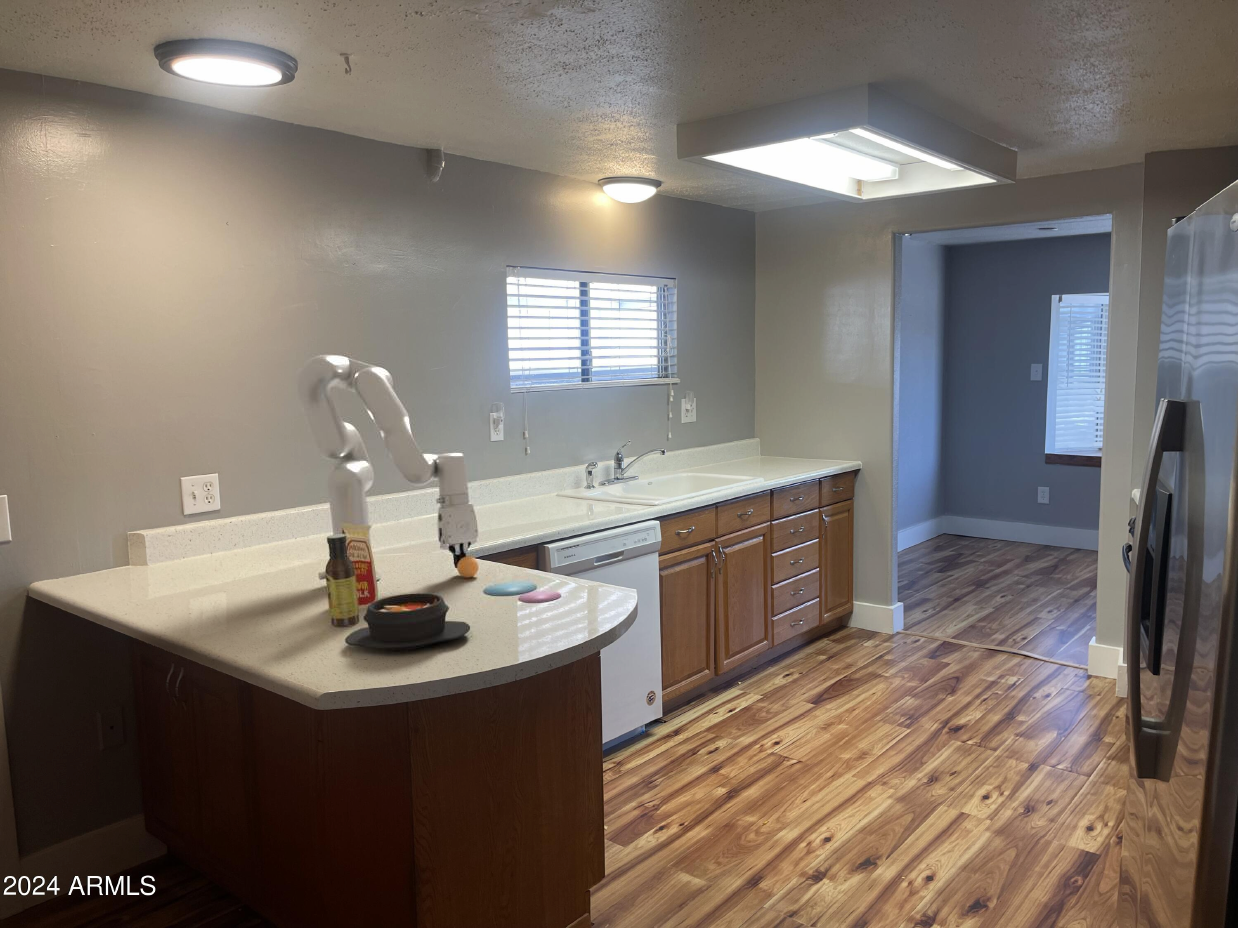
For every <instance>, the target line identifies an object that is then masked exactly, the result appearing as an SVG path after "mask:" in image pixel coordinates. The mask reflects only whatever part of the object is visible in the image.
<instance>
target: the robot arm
mask: <svg viewBox="0 0 1238 928" xmlns="http://www.w3.org/2000/svg"><path fill="white" fill-rule="evenodd" d="M393 381H394V380H393V377H392V375H391V374H390V373H389V371H387V370H386V369H384V368H382V367H380V366H376V365H374V364H368V363H366V362H362V361H359V360H356V359H353V358H350V357H346V356H343V355H337V354H320V355H316V356H315V357H312V358H310V359H309V360H307V361H306V362H305V364H303V366H302V367H301V369H300V370H299V372H298V374H297V378H296V381H295V390H296V396H297V398H298V400H297V401H298V403H299V405H300V408H301V410H302V412H303V416H304V419H305V421H306V424H307V428H308V430H309V432H310V433H309V434H310V435H311V438H312V440H313V443H314V446H315V449H316V451H317V453H318V454H319V456H321V457H322V458H324V459H325V460H330V461H332V463H333V465H334V467H333V468H332V469H331V470H330V471H329V472H328V474H327V477H326V483H325V487H326V488H325V489H326V494H327V499H328V504H329V508H330V515H331V516H330V517H331V526H332V535H336V534H342V524H341V523H344V524H350V525H356V526H363V525H371V522H370V514H369V506H368V501H367V496H366V492H368V490H369V489H370V488H371V487H372V485H373V483H374V481H375V474H374V473H375V472H374V468H373V466H372V463H371V460H370V458H369V456H368V452H367V450H366V447H365V444H364V442H363V439H362V436H361V434H360V433H359V432H358V430H357V429H356V427H355V426H354V425H352V424H350V423H348V422H345V421H343V419H342V417H341V415H340V414H341V413H340V411H339V408H338V405H337V404H336V401H335V400H334V397H333V396H332V393H331V388H339V389H342V390H345V391H349V392H353V393H355V394H356V396H357V397H358V399H359V400H360V402H361V403H362V405H363V407H364V408H365V410H366V411H367V413H368V414H369V416H370V418H371V419H372V421H373V422H374V424H375V426H376V428H377V429H378V431H379V432H380V435H381V439H382V441H383V443H384V446H385V449H386V450H387V453H388V455H389V456H390V458H391V461H392V462H393V464H394V465H395V467H396V469H397V470H398V471H399V473H400V474H401V477H402V478H403V479H404V480H405V481H406V482H407V483H408V484H409V485H412V486H416V487H420V486H424V485H427V484H428V483H429V482H432V481H435V480H438V481H437V482H438V484H437V485H438V490H439V491H438V492H439V495H438V498H436V499H435V502H436V504H438V505H439V506H438V509H437V522H436V523H437V537H438V538H437V539H438V542H439V543H440V544H439V549H441V550H442V551H443V550H444V551H445V550H447V551H449V552H450V554H452V557H453V564H454V565H453V566H454V568H455V569H457V565H458V562H459V561H460V560H461V559H462V558H464V557H467V553H468V551H469V548H470V547H471V545H474V544H475V543H477V542H478V541H477V539H479V528H478V519H477V514H476V510H475V508H474V504H473V502H470V497H469V487H468V484H469V483H468V476H467V464H466V463H467V462H466V461H467V460H466V457H465V454H463V453H461V452H449V453H447V452H446V453H442V454H434V453H433V454H432V453H423V452H422V451H421V449H420V448H419V446H418V444H417V443H416V440H415V438H414V436H413V434H412V431H411V423H410V422H411V421H410V416H409V413H408V412H407V410H406V408H405V407H404V406H403V404H402V402H401V400H400V399H399V397H398V396H397V394H396V392H395V391H394V389H393V387H394V382H393ZM371 534H372V533H371V529H370V530H369V540H370V545H371V550H372V551H373V545H372V535H371ZM375 572H376V579H377V581H378V580H380V579H381V573H380V572H379V571H375ZM317 575H318V576H317V577H318V579H319V581H322V580H326V575H325V571H321V572H318V573H317Z"/></svg>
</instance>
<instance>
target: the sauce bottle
mask: <svg viewBox="0 0 1238 928" xmlns="http://www.w3.org/2000/svg"><path fill="white" fill-rule="evenodd" d="M326 541H327V542H326V543H327V544H328V550H329V551H328V556H329V560H328V561H327V563H326V564H325V571H324V572H325V575H326V579H325V584H326V592H327V602H328V609H329V610H328V612H329V617H330V623H331V625H332V627H333V626H334V627H337V628H345V627H344V626H346V627H350V626H349V625H352V626H354V624H355V625H356V624H359V623H360V609H359V605H358V596H357V586H356V576H355V572H354V564H353V562H352V561H351V560H350V558H349V557H348V556H347V548H346V541H347V539H346V535H345V534H336V535H333V534H331V535H328V536H326Z"/></svg>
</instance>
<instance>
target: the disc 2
mask: <svg viewBox="0 0 1238 928" xmlns="http://www.w3.org/2000/svg"><path fill="white" fill-rule="evenodd" d="M561 597H562V593H560V592H559V591H553V590H537V591H536V590H534V591H531V592H527V593H523V594H520V596H518V600H519V601H521V602H522V603H531V604H532V603H535V604H536V603H547V602H553V601H555V600H558V599H559V598H561Z"/></svg>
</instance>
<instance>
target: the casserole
mask: <svg viewBox="0 0 1238 928" xmlns="http://www.w3.org/2000/svg"><path fill="white" fill-rule="evenodd" d="M449 610H450V608H449V605H447V604H446V602H445V600H444V598H443V596H441V595H438V594H436V593H425V592H424V593H421V592H419V593H416V592H415V593H414V592H413V593H404V594H397V595H392V596H388V597H384V598H380V599H378V600H377V601H375V602H373V603H371V604H370V605H369V606H368V607H367V609H366V613H365V614H364V615H363V616H362V617H363V621H365V622H366V623H367V627H361V628H358V629H356V630H355V631H353V632H351V633H349V634H348V635H347V636H346V637H345V639H344V642H345V644H347V645H348V646H352V647H353V646H354V647H371V648H376V649H377V648H378V649H382V650H383V649H384V650H390V651H406V649H409V650H415V649H414V648H416V649H421V648H424V647H426V646H429V645H433V644H434V643H439V642H446V641H451V640H456V639H459V638H461V637H463V636H464V635H466V634H468V633H469V632H470V629H471V626H470V624H469V623H467V622H465V621H457V620H456V621H455V620H452V621H451V620H446V617H447V612H448V611H449ZM423 646H424V647H423Z"/></svg>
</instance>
